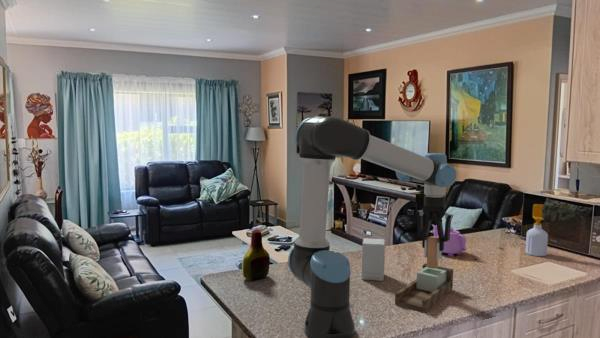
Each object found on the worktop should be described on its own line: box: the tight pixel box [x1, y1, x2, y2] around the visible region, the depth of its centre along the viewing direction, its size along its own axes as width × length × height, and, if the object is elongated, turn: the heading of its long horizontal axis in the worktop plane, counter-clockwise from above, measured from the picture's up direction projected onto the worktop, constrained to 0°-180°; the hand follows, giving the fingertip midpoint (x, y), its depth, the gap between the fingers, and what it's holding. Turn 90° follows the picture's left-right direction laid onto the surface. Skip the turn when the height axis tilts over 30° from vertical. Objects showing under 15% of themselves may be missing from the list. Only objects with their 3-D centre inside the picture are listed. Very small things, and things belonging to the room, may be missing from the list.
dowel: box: [426, 235, 439, 269], centre depth 167 cm, size 4×4×11 cm
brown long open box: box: [394, 263, 454, 313], centre depth 163 cm, size 26×11×8 cm, turn 142°
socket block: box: [416, 267, 447, 292], centre depth 168 cm, size 9×8×6 cm
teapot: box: [431, 223, 467, 258], centre depth 218 cm, size 20×14×12 cm
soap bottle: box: [525, 203, 549, 257], centre depth 217 cm, size 9×9×25 cm
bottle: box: [241, 228, 271, 281], centre depth 181 cm, size 12×6×20 cm, turn 120°
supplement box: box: [361, 237, 386, 282], centre depth 184 cm, size 9×9×15 cm
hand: (432, 257), depth 167 cm, fingers closed on dowel, 4 cm apart
